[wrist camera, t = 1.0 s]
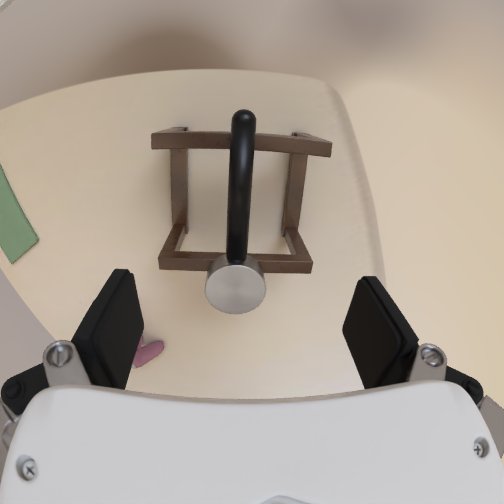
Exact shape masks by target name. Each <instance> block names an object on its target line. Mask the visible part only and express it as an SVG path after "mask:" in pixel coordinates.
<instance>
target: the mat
mask: <svg viewBox="0 0 504 504" xmlns="http://www.w3.org/2000/svg"><path fill="white" fill-rule="evenodd" d="M38 240H39V239H38V237H37V235H36V234H35V232H34V230H33V229H32V227H31V225H30V224H29V222H28V220H27V218H26V217H25V215H24V213H23V211H22V209H21V207H20V205H19V204H18V202H17V200H16V198H15V196H14V194H13V192H12V190H11V188H10V185H9V183H8V181H7V179H6V177H5V175H4V172H3V170H2V168H1V165H0V246H1V248H2V250H3V251H4V253H5V255H6V256H7V258H8V260H9V261H10V263H11V264H12V263H14V262H15V261H16V260H17V259H18V258H19V257H20V256H21V255H22V254H23V253H24V252H26V251H27V250H28V249H29V248H30V247H31V246H32V245H34V244H35V243H36V242H37V241H38Z"/></svg>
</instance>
